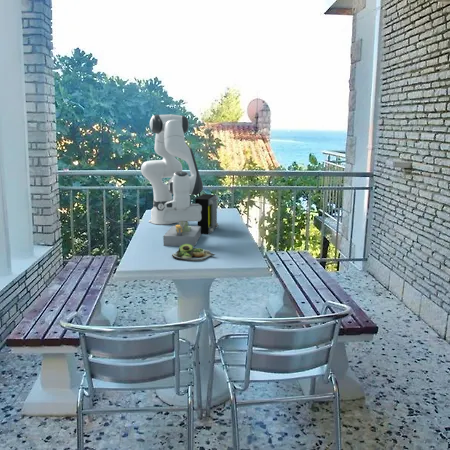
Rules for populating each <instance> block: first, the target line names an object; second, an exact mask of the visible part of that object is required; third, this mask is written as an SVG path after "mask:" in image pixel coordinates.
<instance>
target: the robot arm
mask: <svg viewBox="0 0 450 450" xmlns="http://www.w3.org/2000/svg"><path fill="white" fill-rule="evenodd" d="M149 127H150V131H151V132H152V133H153V134H155V137H154V138H155V139H154V152H155V154H157V155H158V156H159V157H161V158H162V159H156V160H155V159H154V160H153V159H152V160H146V161H144V162H143V163H142V164H141V167H140V172H141V175H142V176H143V178H146V179H147V181H148V182H149V183H150V184H151V187H152V191H153V202H152V204H153V205H152V206H153V207H152V208H151V210H150V219H149V220H148V223H151V224H153V225H172V224H178V225H180V226H181V228H182V230H184V225H185V223H186V221H188V222H198V221H200V220H201V219H202V217H201V211H202V206H201V205H200V204H198V203H197V204H195V203H191V196H198V195H199V194H201V193H202V192H203V189H204V184H203V180H202V178H201V175H200V171H199V169H198V165H197V161H196V158H195V155H194V151H193V150H192V148H190V147H189V146H188V145H187V143H186V139H185V138H186V137H185V134H186V133H187V132H188V131H189V128H190V123H189V119H188V118H187V116H185V115H181V114H171V113H170V114H153V115H152V116H150V120H149ZM177 158H179V159H181V160H183V161H184V162H185V163H187V165H188V168H189V169H188V170H189V172H190V176H189V173H188V172H186V171H183V165H182V162H181V161H179V160H178V159H177ZM164 178H165V179H166V178H170V179H168V180H167V183H168V184H167V183H165V182H163V179H164ZM172 195H173V196H172ZM199 205H200V206H199ZM182 221H183V223H184V224H183V226H182V224H181V223H182Z"/></svg>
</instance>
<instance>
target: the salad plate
mask: <svg viewBox="0 0 450 450" xmlns="http://www.w3.org/2000/svg"><path fill="white" fill-rule="evenodd" d="M215 255H216V254H215V253H212V252H211V251H210V250H209V249H204V248H201V247H199V248H197V247H195V246H192V245H191V244H183V245H181V246H179V247H178V250H177V251H175V252H174V253H172V255H171V257H172V258H173V259H175V260H179V261H188V262H189V261H191V262H193V261H194V262H197V261H198V262H199V261H200V262H201V261H203V260H206V259H208V258H210V257H211V256H212V257H213V256H215Z"/></svg>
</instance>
